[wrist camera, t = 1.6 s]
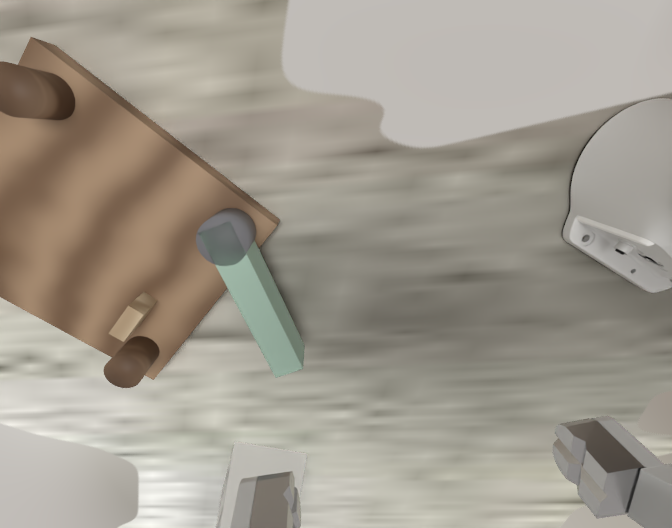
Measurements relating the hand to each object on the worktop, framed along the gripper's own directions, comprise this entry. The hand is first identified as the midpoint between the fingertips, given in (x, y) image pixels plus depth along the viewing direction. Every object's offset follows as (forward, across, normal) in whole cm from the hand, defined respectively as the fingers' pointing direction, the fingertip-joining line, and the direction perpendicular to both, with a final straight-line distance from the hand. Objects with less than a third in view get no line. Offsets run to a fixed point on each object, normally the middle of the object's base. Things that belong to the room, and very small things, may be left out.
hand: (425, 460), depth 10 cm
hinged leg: (+25, +9, +4) cm, 27 cm away
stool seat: (+28, +23, -3) cm, 36 cm away
